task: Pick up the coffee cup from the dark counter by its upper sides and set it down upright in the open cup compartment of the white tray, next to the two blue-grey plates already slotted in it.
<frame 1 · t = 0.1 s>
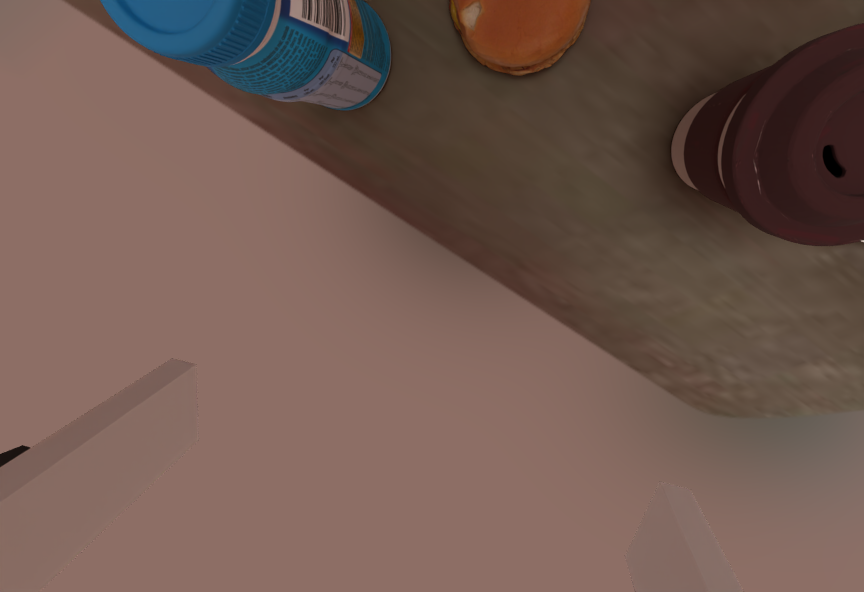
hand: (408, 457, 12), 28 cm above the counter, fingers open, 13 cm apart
beverage bottle: (345, 56, 35), on the counter
burger: (518, 7, 32), on the counter
coffee cup: (719, 143, 33), on the counter
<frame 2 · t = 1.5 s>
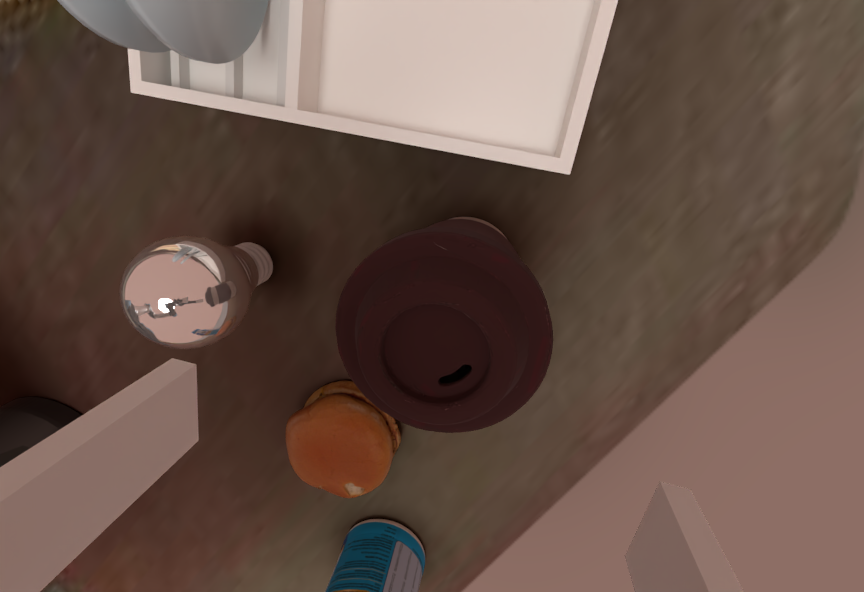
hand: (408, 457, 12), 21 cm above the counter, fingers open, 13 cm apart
beverage bottle: (386, 545, 43), on the counter
burger: (353, 424, 39), on the counter
coffee cup: (465, 264, 32), on the counter
light bulb: (262, 258, 35), on the counter
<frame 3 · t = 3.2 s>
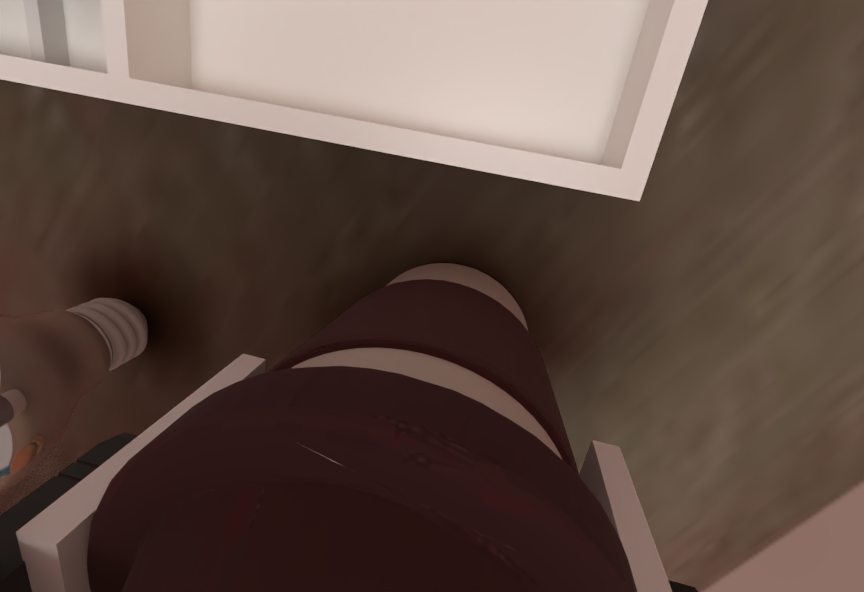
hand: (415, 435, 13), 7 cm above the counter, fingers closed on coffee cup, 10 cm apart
coffee cup: (447, 334, 20), on the counter, touching gripper
light bulb: (140, 316, 23), on the counter
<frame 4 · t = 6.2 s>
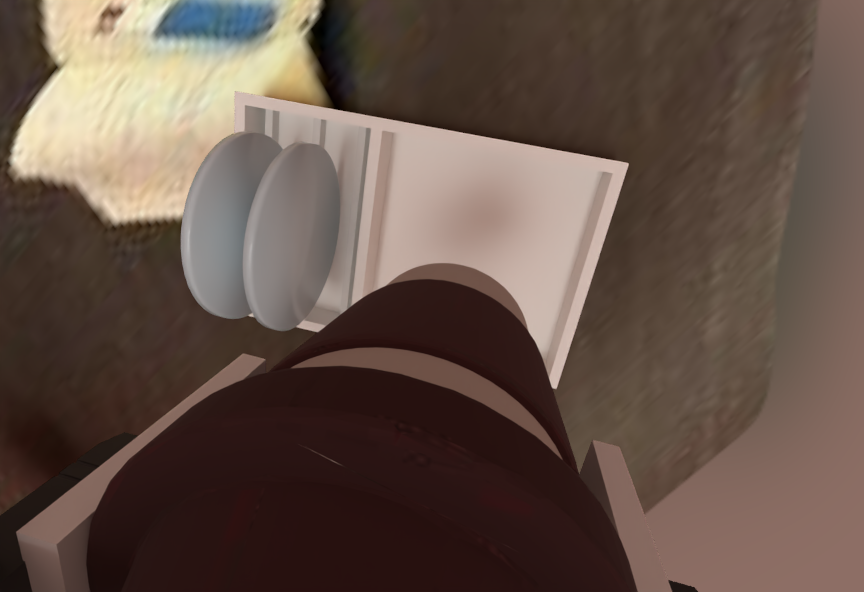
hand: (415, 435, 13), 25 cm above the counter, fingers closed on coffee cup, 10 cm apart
white tray: (414, 237, 37), on the counter
plates: (275, 234, 30), in the white tray, point 8 cm above the counter
coffee cup: (447, 334, 20), point 17 cm above the counter, touching gripper
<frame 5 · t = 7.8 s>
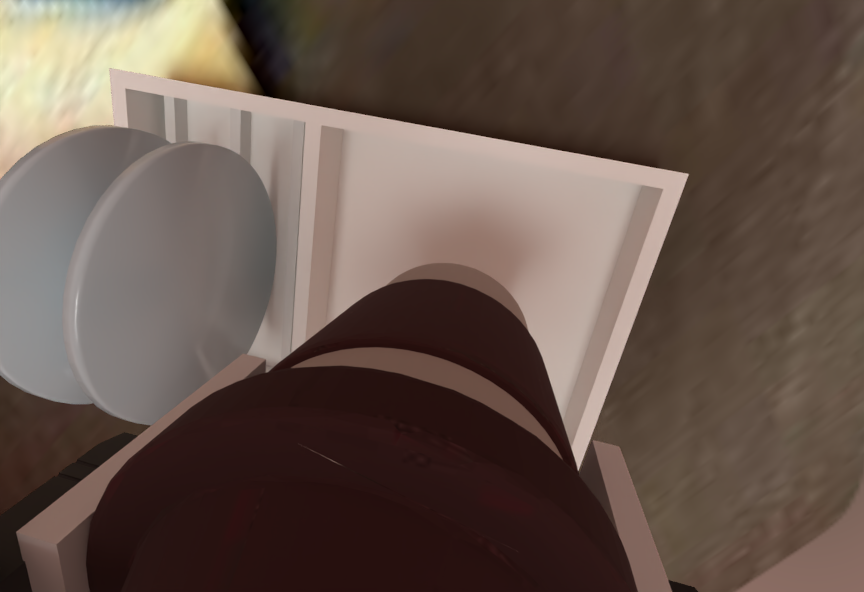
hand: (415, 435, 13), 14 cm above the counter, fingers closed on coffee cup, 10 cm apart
white tray: (379, 271, 27), on the counter
plates: (164, 276, 21), in the white tray, point 8 cm above the counter
coffee cup: (447, 334, 20), point 7 cm above the counter, touching gripper
when the fingers open (10 cm above the counter, at t = 9.3 s): coffee cup drops 1 cm, resting on white tray.
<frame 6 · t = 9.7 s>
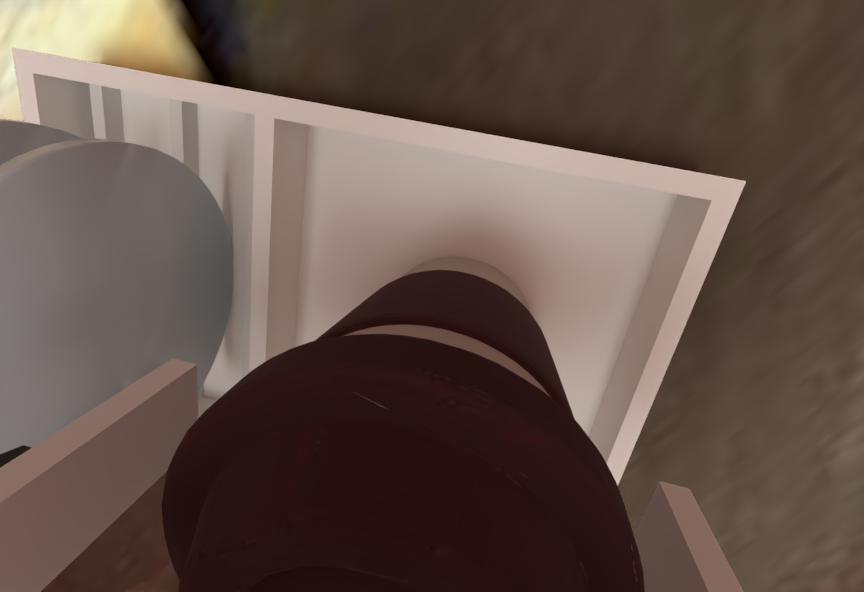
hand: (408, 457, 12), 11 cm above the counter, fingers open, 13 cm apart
white tray: (357, 294, 23), on the counter
plates: (77, 309, 16), in the white tray, point 8 cm above the counter
coffee cup: (457, 324, 21), point 1 cm above the counter, touching white tray
light bulb: (233, 526, 30), on the counter
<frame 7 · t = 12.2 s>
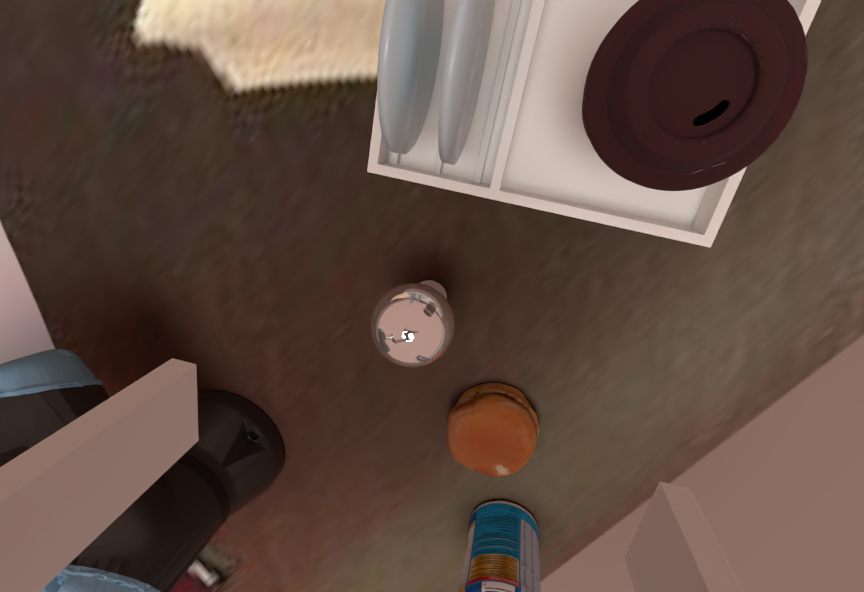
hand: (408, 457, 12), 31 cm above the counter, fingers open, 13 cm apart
beverage bottle: (503, 523, 52), on the counter
burger: (493, 418, 47), on the counter
white tray: (559, 94, 35), on the counter
plates: (441, 60, 29), in the white tray, point 8 cm above the counter
coffee cup: (629, 107, 34), point 1 cm above the counter, touching white tray
light bulb: (433, 290, 43), on the counter
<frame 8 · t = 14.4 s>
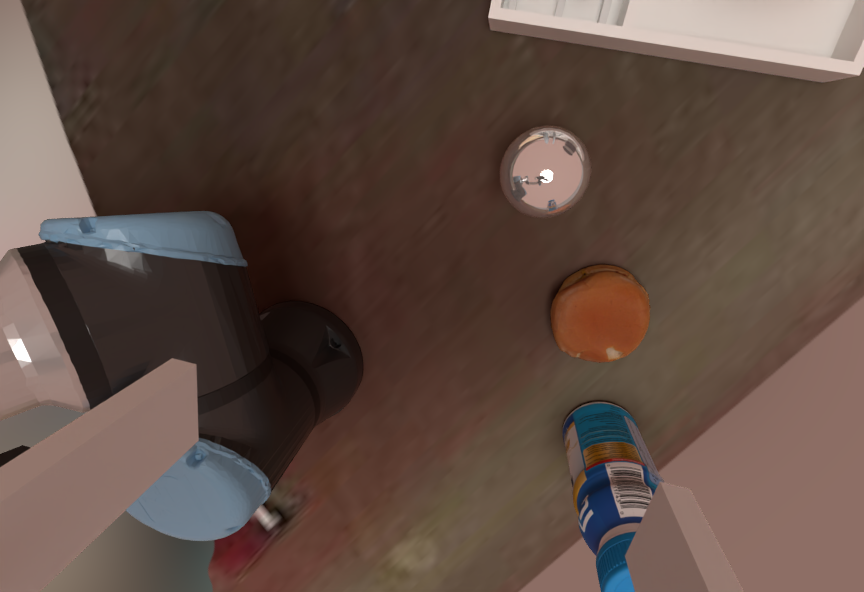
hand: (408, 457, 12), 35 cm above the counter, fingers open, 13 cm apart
beverage bottle: (598, 428, 50), on the counter
burger: (595, 307, 45), on the counter
light bulb: (537, 167, 42), on the counter
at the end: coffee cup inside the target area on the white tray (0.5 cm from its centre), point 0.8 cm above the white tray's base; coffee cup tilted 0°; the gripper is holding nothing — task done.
